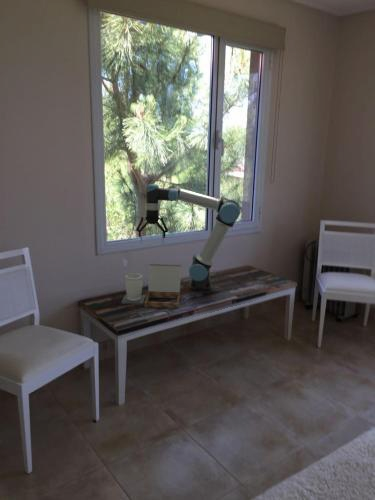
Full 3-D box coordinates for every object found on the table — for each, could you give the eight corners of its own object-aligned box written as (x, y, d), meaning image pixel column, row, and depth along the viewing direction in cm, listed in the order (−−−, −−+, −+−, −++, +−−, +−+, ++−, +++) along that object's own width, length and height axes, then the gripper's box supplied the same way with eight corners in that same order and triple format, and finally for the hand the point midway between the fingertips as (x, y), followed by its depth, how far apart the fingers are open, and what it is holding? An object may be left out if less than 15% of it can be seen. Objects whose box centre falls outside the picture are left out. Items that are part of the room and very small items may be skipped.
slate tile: (145, 296, 263) (145, 295, 263) (142, 304, 250) (142, 303, 250) (125, 296, 263) (125, 294, 263) (121, 303, 251) (121, 302, 250)
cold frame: (179, 297, 263) (179, 293, 262) (178, 308, 247) (178, 303, 246) (148, 296, 264) (148, 291, 263) (144, 306, 247) (144, 302, 247)
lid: (179, 292, 262) (179, 292, 263) (180, 265, 262) (180, 265, 263) (148, 291, 263) (148, 290, 264) (149, 263, 263) (149, 263, 264)
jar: (139, 302, 250) (139, 279, 247) (123, 301, 252) (122, 277, 249) (144, 296, 261) (144, 273, 257) (129, 294, 262) (128, 272, 259)
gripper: (172, 209, 263) (172, 241, 269) (133, 207, 264) (133, 240, 269) (171, 211, 256) (171, 244, 261) (131, 209, 257) (131, 243, 262)
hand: (152, 242), depth 265 cm, fingers open, 13 cm apart
